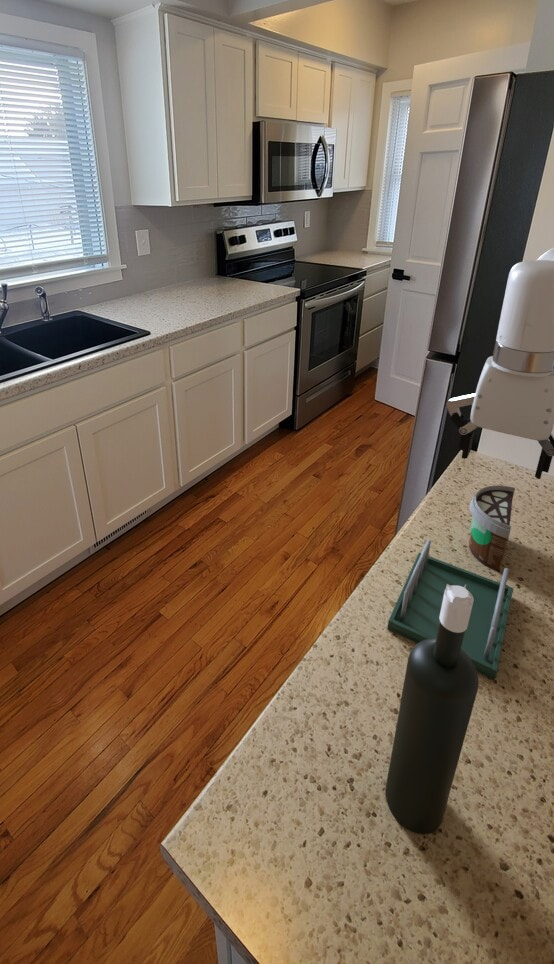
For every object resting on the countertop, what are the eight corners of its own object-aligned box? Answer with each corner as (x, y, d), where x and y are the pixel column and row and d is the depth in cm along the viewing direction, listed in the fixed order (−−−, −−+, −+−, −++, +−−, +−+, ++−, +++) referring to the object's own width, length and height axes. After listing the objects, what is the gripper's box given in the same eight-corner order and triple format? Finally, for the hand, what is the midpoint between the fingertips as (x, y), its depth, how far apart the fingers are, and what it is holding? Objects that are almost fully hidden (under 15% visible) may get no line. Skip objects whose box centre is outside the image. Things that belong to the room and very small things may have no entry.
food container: (466, 520, 91) (476, 476, 86) (503, 531, 88) (515, 486, 83) (456, 563, 81) (466, 515, 77) (498, 577, 78) (511, 528, 74)
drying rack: (510, 596, 75) (520, 564, 72) (494, 680, 63) (504, 645, 60) (417, 560, 82) (422, 529, 79) (387, 629, 70) (391, 595, 67)
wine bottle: (403, 758, 55) (442, 554, 43) (453, 802, 51) (512, 592, 39) (374, 798, 51) (408, 590, 39) (425, 850, 48) (480, 636, 35)
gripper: (605, 358, 63) (572, 469, 70) (462, 338, 72) (446, 437, 79) (604, 379, 57) (568, 496, 64) (449, 353, 67) (433, 458, 74)
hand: (500, 463), depth 72 cm, fingers open, 9 cm apart
